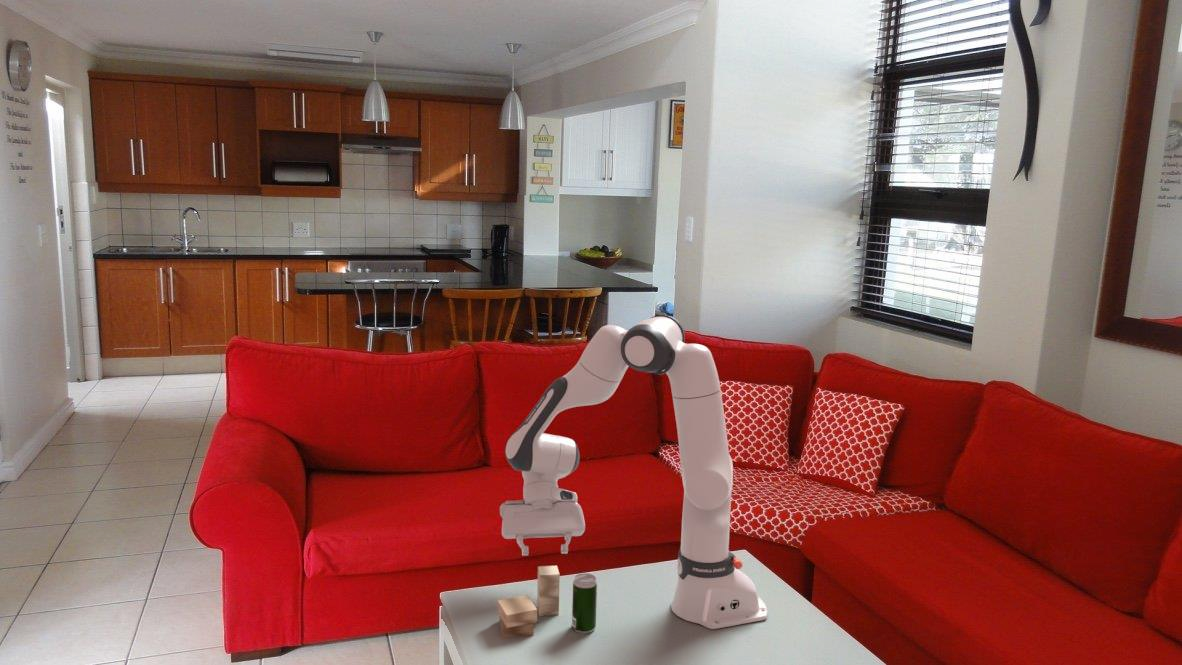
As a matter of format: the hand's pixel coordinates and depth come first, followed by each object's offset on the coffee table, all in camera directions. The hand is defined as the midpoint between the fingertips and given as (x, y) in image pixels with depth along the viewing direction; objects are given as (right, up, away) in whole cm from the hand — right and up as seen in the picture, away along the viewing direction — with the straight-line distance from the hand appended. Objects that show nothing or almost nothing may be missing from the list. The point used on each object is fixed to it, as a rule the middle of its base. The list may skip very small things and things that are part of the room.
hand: (545, 553), depth 201 cm
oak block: (-6, -11, -13) cm, 18 cm away
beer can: (+9, -14, -12) cm, 21 cm away
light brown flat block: (-6, -14, -13) cm, 20 cm away
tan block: (+1, -12, -5) cm, 13 cm away
